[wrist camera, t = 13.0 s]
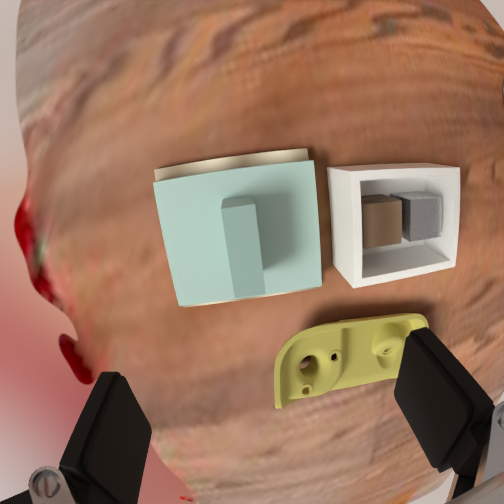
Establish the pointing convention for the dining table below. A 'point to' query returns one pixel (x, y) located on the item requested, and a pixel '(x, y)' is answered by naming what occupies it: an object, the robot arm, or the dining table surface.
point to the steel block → (420, 215)
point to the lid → (241, 231)
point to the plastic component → (342, 355)
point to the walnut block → (381, 221)
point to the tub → (406, 253)
